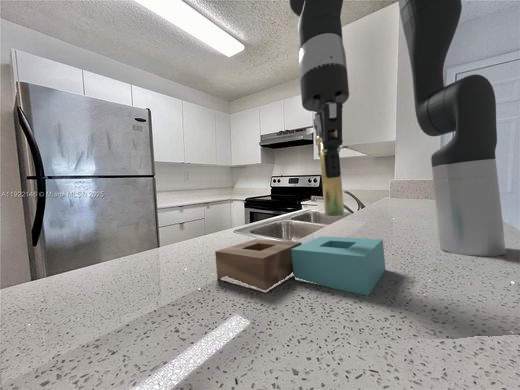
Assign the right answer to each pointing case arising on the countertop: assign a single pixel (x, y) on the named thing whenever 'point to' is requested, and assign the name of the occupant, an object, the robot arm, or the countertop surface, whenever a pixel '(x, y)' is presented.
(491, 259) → the countertop surface
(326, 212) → the brass pin
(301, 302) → the countertop surface
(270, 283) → the block
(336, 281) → the socket block
